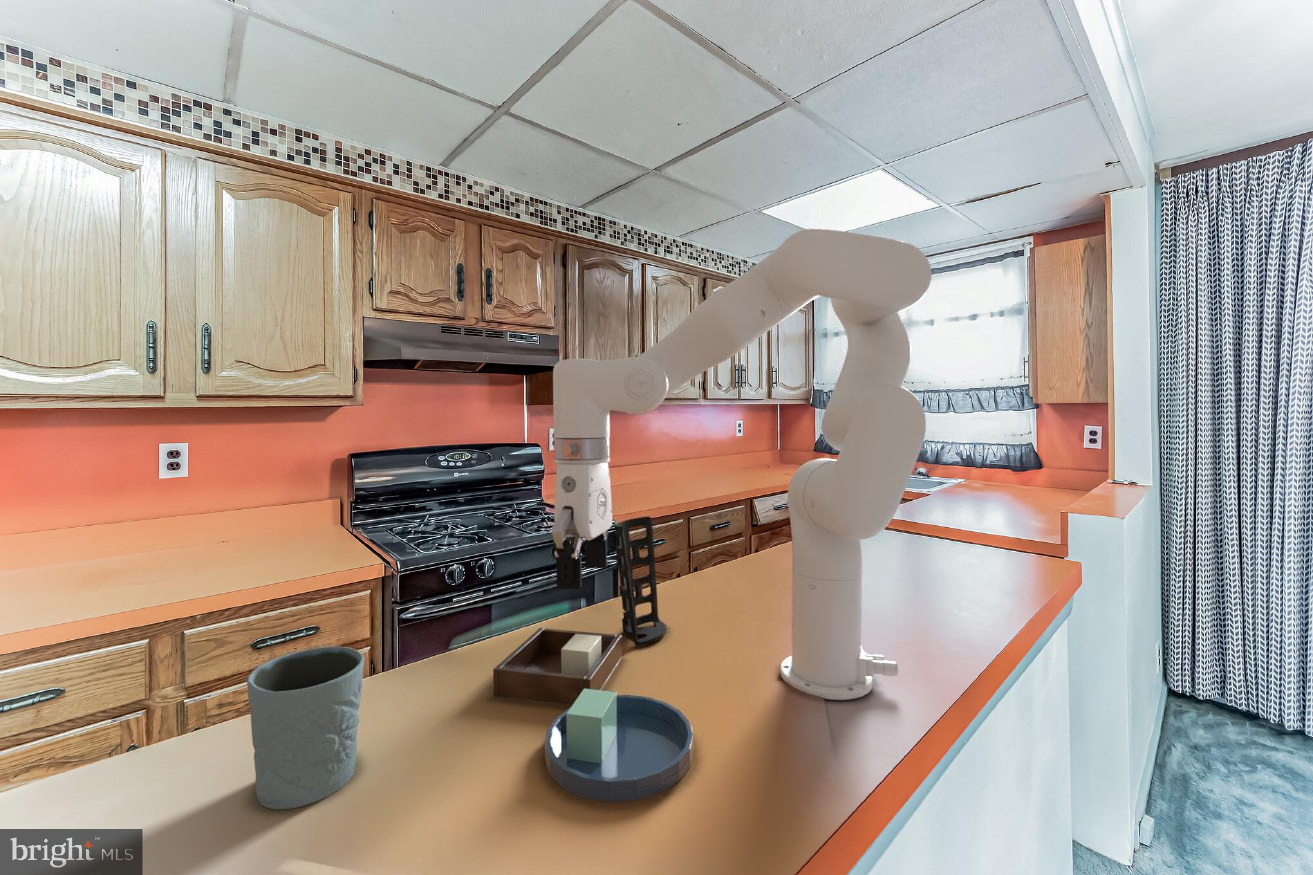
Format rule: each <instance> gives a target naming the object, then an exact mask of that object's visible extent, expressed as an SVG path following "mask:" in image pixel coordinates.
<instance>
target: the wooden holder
mask: <svg viewBox="0 0 1313 875" xmlns="http://www.w3.org/2000/svg"><path fill="white" fill-rule="evenodd" d="M575 634H585V635H596V636H601V657H600V658H599V660H598V661H597V663H596V664H595V665H594V667H593V668H592V669H591V671H590V672H589V673H588V675H587V676H578V675H568V674H561V649H562V648H563V647H564V646H565V645H566V644H567V643H568V642H569V640H570V639H571V638H572V637H573V636H574V635H575ZM622 639H623V636H622V634H613V633H600V632H590V631H577V630H566V629H556V628H545V627H539V628H538V629H536V630H535V632H534V633H532V634H531V635H530V636H529V637H528V638H527V639H525V640H524V642H522V643H521V644H520V645H519V646H518V647H517V648H515V649H514V650H513V651H512V652H511V653H510V654H509V655H508V656H506V657H505V658H504V659H503V660H502V661H501V662H500V663H499V664H498V665H496V666H495V667H494V668H492V674H493V675H492V677H493V678H492V683H493V684H492V687H493V688H492V690H493V691H492V692H493V697H496V698H497V697H498V698H503V699H515V700H521V701H530V702H537V703H538V702H539V703H548V704H555V705H565V706H572V705H573V704H574V702H575V701H576V700H577V698H578V697H579V695H580V694H581V692H582V691H583V690H584V689H592V690H601V691H603V688H604V687H605V686H606V684H607V682H608V681H609V679H610V678H611V676H612V674H613V673H614V671H615V670H616V668H617V667H618V666H620V665H621V663H622V661H623V646H622V643H623V642H622Z"/></svg>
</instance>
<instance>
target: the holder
mask: <svg viewBox="0 0 1313 875" xmlns="http://www.w3.org/2000/svg"><path fill="white" fill-rule="evenodd" d="M613 526H614V535H615V541H616V548H615V556H616V566H617V567H616V568H617V570H618V574H619V582H620V585H619V586H618V589H619V596H620V597H621V603H622V610H623V612H622V615H623V617H622V618H621V624H622V633H623V634H624V635H625V637H626V639H628V640H629V641H631V642H633V644H634V645H635V647H637V648H642V647H645V646H648V645H649V644H651V643H654V642H656V641H658V640H659V639H661V638H662V637H664V636H665V635H666V634H667V631H668V630H667V629H668V628H667V624H665V623H664V622H663V621H661V619H660V618H659V607H658V591H657V590H658V588H657V574H656V573H657V572H656V571H657V570H656V560H655V559H656V558H655V557H656V556H655V544H654V543H655V542H654V531H653V518H652V517H651V516H639V517H634V518H628V519H624V520H622V521H619V522H616V523H614V524H613ZM637 527H645V536H644V537H641V538H634V539H631V538H630V531H629V530H630V529H631V528H637ZM641 546H646V548H647V550H646V551H647V555H646V556H643V557H641V555H640V554H641V553H640V547H641ZM644 565H647V566H648V572H649V573H648V574H647V575H646V576H645V575H644V576H639V577H634V573H633V568H634V567H638V566H644ZM645 584H648V585H649V589H650V592H649V594H646V595H644V594H643V586H644V585H645ZM647 603H650V610H651V611H650V613H647V614H643V615H639V616H637V611H636V607H637V606H639V605H643V604H647ZM648 623H653V625H654V626H641V625H645V624H648ZM638 637H641V638H640V639H638Z"/></svg>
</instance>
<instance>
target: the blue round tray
mask: <svg viewBox="0 0 1313 875" xmlns="http://www.w3.org/2000/svg"><path fill="white" fill-rule="evenodd" d="M570 708H571V707H569V708H568V709H566V710H564V711H563V712H562V713H561V714H559V715H558V716H556V717H555V719H554V720H553V721H552V723H551V724H550V725H549V727H548V728H547V731H546V735H545V740H544V762H545V764H546V769H547V771H548V773H549V776H550V777H551V778H552V780H553V781H554V782H555V783H556V784H558V786H560V788H562V789H564V790H566V791H567V792H568V793H571V794H573V795H575V796H578V797H581V798H584V799H587V800H591V801H598V802H606V803H607V802H608V803H611V802H612V803H620V802H631V801H636V800H637V801H638V800H642V799H645V798H649V797H652V796H655V795H657V794H660V793H662V792H665V791H666V790H668V789H670V788H671V787H672V786H674V785H675V784H676V783H677V782H679V781H680V780H681V779H682V778H683V777H684V776H685V774H686V773H687V772H688V770H689V769H690V768H691V764H692V761H693V756H694V753H695V752H694V751H695V746H694V744H695V743H694V738H695V735H694V731H693V728H692V725H691V722H690V720H689V719H688V718H687V717H686V716H685V714H684V713H683V712H682V711H681V710H680V709H678V708H676V707H674V706H673V705H671V704H669V702H668V703H667V702H666V701H663V700H659V699H656V698H652V697H650V696H643V695H633V694H617V734H616V736H615V738H614V740H613V742H612V744H611V746H610V748H609V750H608V752H607V754H606V756H605V758H604V760H603V762H602V764H600V763H593V762H586V761H579V760H572V759H567V720H566V714H567V712H568V711H569V709H570Z"/></svg>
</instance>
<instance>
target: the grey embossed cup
mask: <svg viewBox="0 0 1313 875" xmlns="http://www.w3.org/2000/svg"><path fill="white" fill-rule="evenodd" d="M364 666H365V656H364V655H363V653H362V652H361V651H359V650H358V649H355V648H352V647H349V646H348V647H346V646H339V645H338V646H337V645H334V646H333V645H332V646H319V647H314V648H313V647H312V648H308V649H302V650H297V651H294V652H290V653H287V654H284V655H281V656H278V657H275V658H272V659H271V660H269V661H267V662H265V663H262V664H261V665H259V666H258V667H256V668H255V669H254V670H253V671H252V672H251V673H249V676H248V677H247V680H246V684H247V698H248V699H247V700H248V706H249V710H250V723H251V724H250V727H251V740H252V746H253V750H254V753H253V762H254V773H255V792H256V798H257V800H258V801H259V803H260V804H261V805H262V806H263V807H265V808H266V809H267V808H268V809H271V810H279V811H280V810H281V811H282V810H292V809H297V808H301V807H305V806H308V805H311V804H315V803H316V802H319V801H321V800H324V799H325V798H327V797H329V796H331V795H332V794H334V793H336V792H337V791H339V790H340V789H341V788H343V787H344V786H345V785H346V784H347V783H348V782H349V781H350V780H351V778H352V777H353V775H354V774H355V769H356V765H357V754H358V738H357V735H358V726H359V722H360V716H359V710H360V706H361V699H362V691H363V690H362V689H363V681H364V680H363V678H364V668H365V667H364Z"/></svg>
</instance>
